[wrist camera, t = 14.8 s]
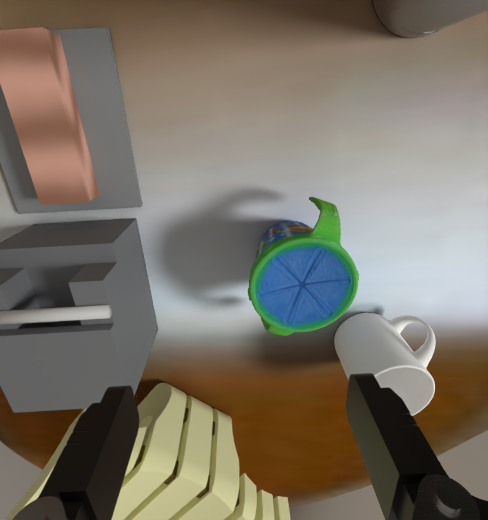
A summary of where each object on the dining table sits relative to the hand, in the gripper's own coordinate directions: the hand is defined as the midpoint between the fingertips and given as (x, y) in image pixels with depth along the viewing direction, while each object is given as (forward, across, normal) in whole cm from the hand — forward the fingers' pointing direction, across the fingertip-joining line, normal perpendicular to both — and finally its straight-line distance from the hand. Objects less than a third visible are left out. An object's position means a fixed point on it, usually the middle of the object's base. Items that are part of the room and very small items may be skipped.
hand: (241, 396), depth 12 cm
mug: (+28, -18, +19) cm, 39 cm away
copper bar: (+27, +18, -9) cm, 34 cm away
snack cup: (+28, -6, +6) cm, 30 cm away
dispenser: (+28, +18, +9) cm, 34 cm away
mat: (+28, +18, -9) cm, 34 cm away
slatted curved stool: (+28, +12, +35) cm, 47 cm away
